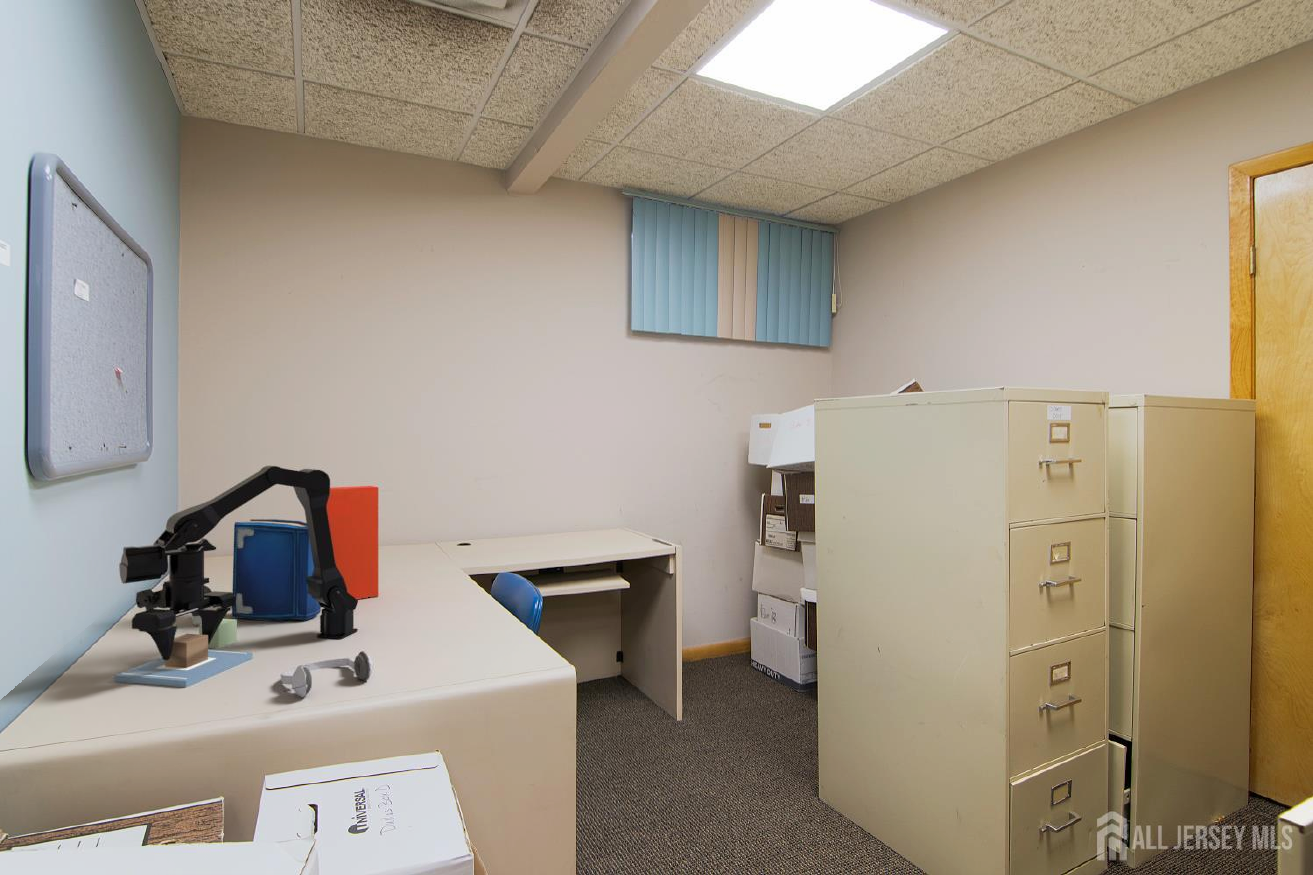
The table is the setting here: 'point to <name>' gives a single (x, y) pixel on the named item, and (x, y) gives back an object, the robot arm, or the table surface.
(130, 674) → the board
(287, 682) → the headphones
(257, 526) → the book
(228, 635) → the green block
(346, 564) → the file binder
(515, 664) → the table surface
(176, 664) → the walnut block
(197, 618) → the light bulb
